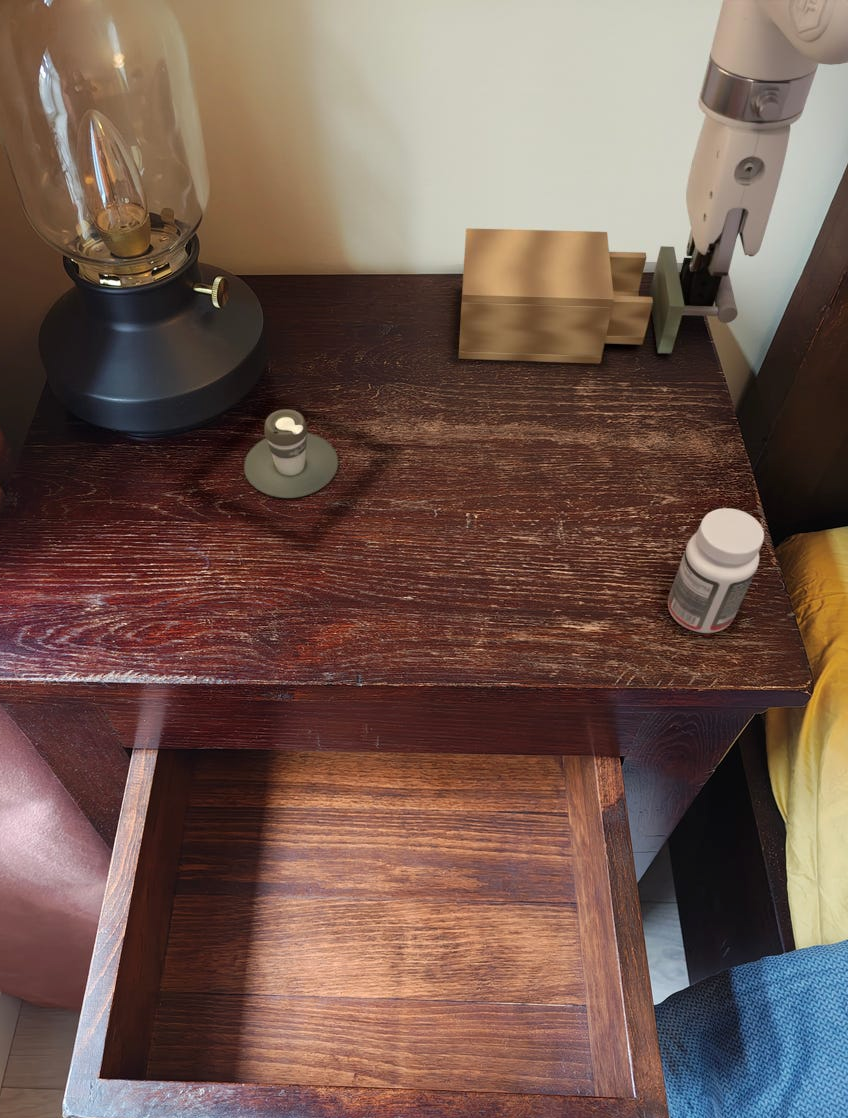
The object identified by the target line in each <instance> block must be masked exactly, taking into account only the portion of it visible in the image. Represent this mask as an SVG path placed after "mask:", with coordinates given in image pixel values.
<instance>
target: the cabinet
mask: <svg viewBox="0 0 848 1118" xmlns="http://www.w3.org/2000/svg"><path fill="white" fill-rule="evenodd" d="M464 240H465V241H464V253H463V254H464V257H463V272H462V288H461V289H462V291H461V307H460V323H459V324H460V325H459V342H458V343H459V344H458V359H459V360H485V361H486V360H487V361H509V362H511V361H512V362H541V363H542V362H543V363H565V364H566V363H567V364H568V363H569V364H593V365H595V364H596V365H597V364H598V365H599V364H601V363H602V358H603V357H602V356H603V354H604V353H603V352H604V349H605V344H606V343H605V339H606V334H607V330H608V325H609V320H610V315H611V311H612V306H613V301H614V294H613V285H612V275H611V265H610V256H609V252H610V248H609V237H608V232H607V231H590V230H589V231H587V230H586V231H583V230H548V229H547V230H545V229H510V228H509V229H505V228H471V227H470V228H469V227H468V228H467V227H466V229H465V239H464Z"/></svg>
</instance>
